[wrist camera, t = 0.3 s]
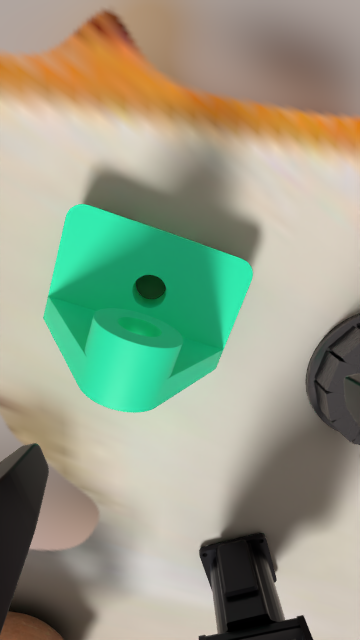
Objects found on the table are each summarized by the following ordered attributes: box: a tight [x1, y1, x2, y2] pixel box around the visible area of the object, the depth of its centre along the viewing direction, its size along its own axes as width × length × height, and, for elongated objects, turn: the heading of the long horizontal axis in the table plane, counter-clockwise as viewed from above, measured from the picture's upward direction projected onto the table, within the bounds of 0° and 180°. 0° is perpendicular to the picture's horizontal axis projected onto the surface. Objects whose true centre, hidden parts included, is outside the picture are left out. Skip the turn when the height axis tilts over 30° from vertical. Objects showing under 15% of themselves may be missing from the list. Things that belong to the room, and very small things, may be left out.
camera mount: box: [43, 204, 253, 412], centre depth 17 cm, size 12×8×10 cm, turn 71°
